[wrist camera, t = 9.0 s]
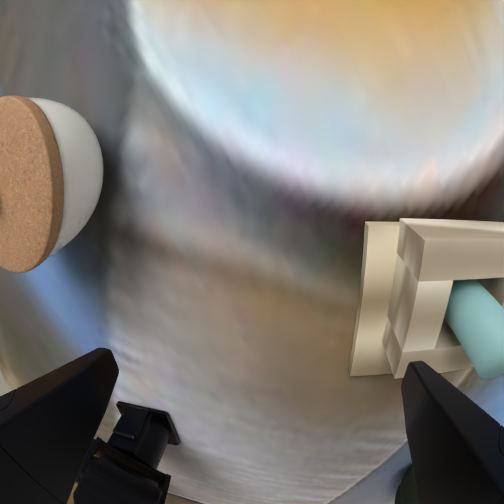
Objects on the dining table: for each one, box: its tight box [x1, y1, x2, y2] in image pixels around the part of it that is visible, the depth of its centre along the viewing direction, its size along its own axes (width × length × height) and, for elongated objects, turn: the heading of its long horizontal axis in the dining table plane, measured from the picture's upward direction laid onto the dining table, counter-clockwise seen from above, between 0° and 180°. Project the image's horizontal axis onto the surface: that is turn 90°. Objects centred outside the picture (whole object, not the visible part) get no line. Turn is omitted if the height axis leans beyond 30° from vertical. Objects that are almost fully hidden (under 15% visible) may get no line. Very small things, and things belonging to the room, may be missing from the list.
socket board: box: [349, 218, 504, 379], centre depth 17 cm, size 12×11×5 cm
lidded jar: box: [0, 96, 104, 273], centre depth 15 cm, size 11×11×9 cm
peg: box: [444, 279, 504, 380], centre depth 13 cm, size 3×3×8 cm
